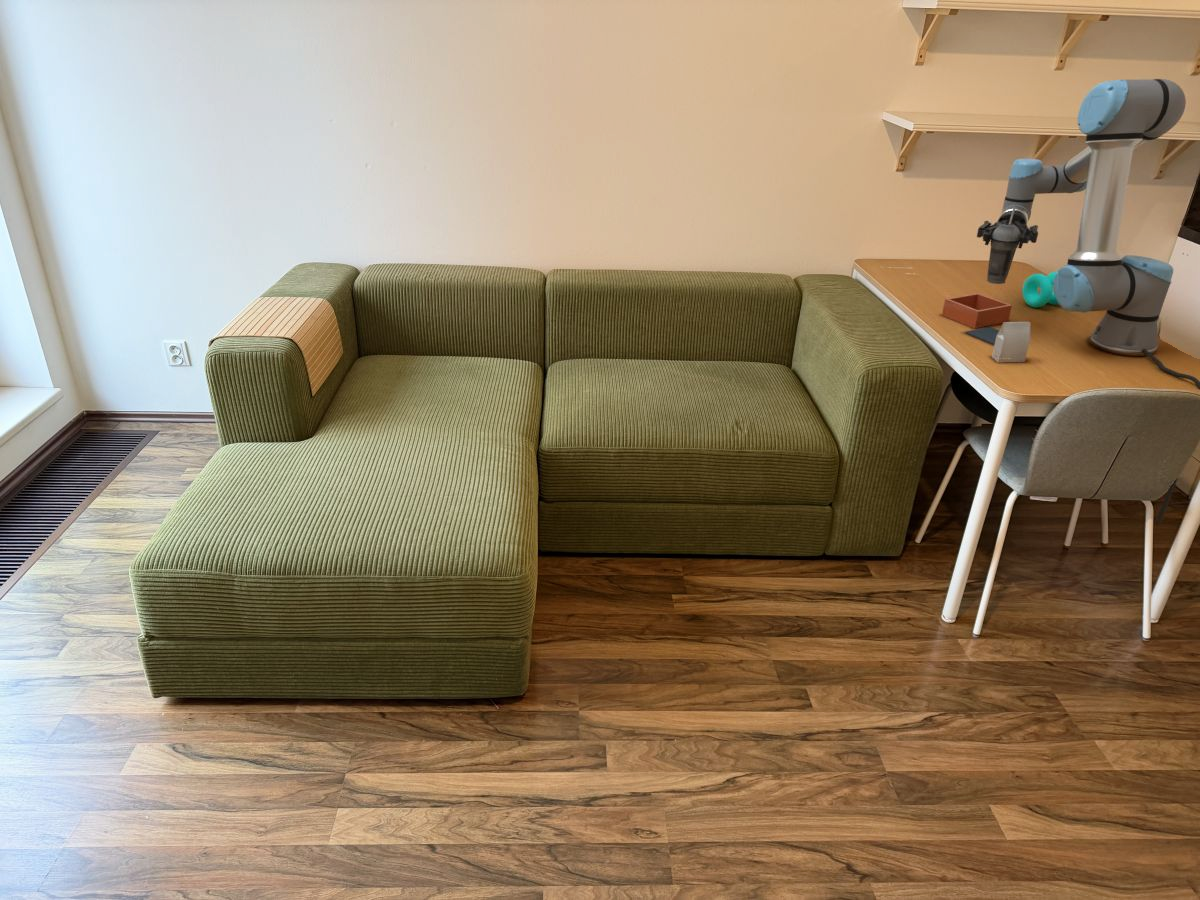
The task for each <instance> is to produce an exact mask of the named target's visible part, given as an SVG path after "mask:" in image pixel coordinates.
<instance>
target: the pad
mask: <svg viewBox="0 0 1200 900" xmlns="http://www.w3.org/2000/svg"><path fill="white" fill-rule="evenodd" d="M999 331H1000V329H996V328H994V327H991V326H986V327H981V328H976V329H971V330H967V331H965V334H966V335H969V336H971V337H973V338H975V339H978V340H980V341H982V342H985V343H988V344H990V345H993V346H994V345H995V341H996V337H997V334H998V332H999Z"/></svg>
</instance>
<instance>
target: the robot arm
mask: <svg viewBox="0 0 1200 900" xmlns="http://www.w3.org/2000/svg"><path fill="white" fill-rule="evenodd" d="M1186 100H1187V99H1186V94H1185V92H1184V90H1183V88H1181V86H1180V85H1179V84H1178V83H1176V82H1175V81H1172V80H1170V79H1167V78H1154V79H1152V78H1151V79H1144V78H1143V79H1140V78H1139V79H1115V80H1106V81H1102V82H1100V83H1098V84H1096V85H1095V86H1094V87H1093V88H1092V89H1090V90H1089V92H1088V93H1087V94H1086V95H1085V97H1084V99H1083V100H1082V102H1081V104H1080V107H1079V110H1078V114H1077V126H1078V129H1079V131H1080V132H1081V133H1082V134H1084V135H1086V136H1085V137H1086V138H1085V144H1086V145H1087V147H1085V148H1084V149H1083V150H1081V151H1080V152H1079V153H1077V154H1076V155H1074V156H1073V157H1072V158H1071V159H1069V160H1068V161H1066V162H1064V163H1063V164H1060V165H1043V161H1042V160H1041V159H1037V158H1017V159H1016V160H1014V162H1013V163H1012V166H1011V169H1010V172H1009V175H1008V177H1009V178H1008V182H1007V188H1006V192H1005V197H1004V200H1003V205H1002V209H1001V214H1000V215H999V218H998V219H997V221H995V222H994V223H992V221H988V220H984V222H983V224H982V225H980V226H979V227H978V229H977V233H976V238H977V239H978V238H979V239H980V238H982V241H983V242H984V245H985V246H989V245H990V243H991V237H992V234H993V232H994V230H995V229H996V228H997V227H998V226H1000V225H1002V224H1005V223H1009V222H1010V218H1011V214H1012V211H1013V207H1015V211H1014V215H1013V218H1012V222H1011V224H1014V225H1015V226H1017V227H1018V229H1019V231H1020V234H1021V237H1020V242H1019V245H1018V247H1017V249H1022V248H1023V245H1024V244H1028V243H1029V242H1031V243H1032V244H1035V243H1037V240H1038V237H1039V231H1038V229H1039V225H1037V224H1033V225H1030V226H1028V223H1029V221H1030V219H1031V215H1032V208H1033V205H1034V201H1035V196H1036V195H1040V194H1041V195H1042V194H1043V195H1044V194H1073V193H1081V192H1083V191H1084V197H1083V204H1082V211H1081V217H1080V224H1079V230H1078V236H1077V243H1076V249H1075V251H1074V252H1072V253H1071V254H1070V255H1069V256H1068V257H1067V263H1066V265H1064V266H1061V267H1060V268H1059V269H1058V270H1057V271H1058V273H1057V274H1056V275H1055V278H1054V285H1053V291H1054V294H1055V297H1056V299H1057V300H1058V303H1059V307H1061V308H1063V309H1064V310H1065V311H1067V312H1075V313H1088V312H1105V311H1106V312H1105V315H1103V317H1102V318H1101V320H1100V321H1099V323H1098V324H1097V325H1096V327H1095V328H1094V330H1093V331H1092V333H1091V335H1090V338H1089V343H1090V344H1091V345H1092V346H1093V347H1095V348H1096V349H1098V350H1101V351H1104V352H1108V353H1110V354H1115V355H1121V356H1127V357H1128V356H1129V357H1145V356H1146V357H1148V359H1150V360H1151V361H1152V362H1154V363H1155V364H1156V365H1157V366H1158V367H1159V369H1160V370H1162V371H1163V372H1165V373H1167V374H1170V375H1172V376H1174V377H1177V378H1182V379H1186V380H1188V381H1189V380H1190V381H1191V382H1193V383H1194V384H1195V385H1196V387H1197V389H1198V390H1200V379H1198V378H1197V377H1195V376H1194V375H1190V374H1186V373H1181V372H1178V371H1175V370H1173V369H1171V368H1168V367H1166V366H1165V365H1164V363H1163V362H1162V361H1161V360H1160V359H1158V357H1156V356H1155V355H1154V354H1156V353H1157V350H1158V347H1159V331H1158V329H1159V328H1158V321H1159V318H1160V314H1161V311H1162V310H1163V306H1164V303H1165V300H1166V298H1167V294H1168V291H1169V289H1170V286H1171V284H1172V278H1173V274H1174V268H1173V266H1172V265H1171V264H1170V263H1167V262H1165V261H1162V260H1160V259H1157V258H1151V257H1146V256H1141V255H1140V256H1139V255H1134V254H1133V255H1132V254H1127V255H1124V256H1123V257H1122V256H1121V255H1120V254H1119V252H1117V251H1118V250H1117V247H1118V242H1119V235H1120V230H1121V224H1122V219H1123V212H1124V207H1125V200H1126V194H1127V187H1128V183H1129V178H1130V177H1129V176H1130V169H1131V164H1132V159H1133V154H1134V153H1133V152H1134V150H1135V149H1137V148H1138V147H1140V146H1141V145H1143V144H1144V143H1146V142H1147V141H1148V142H1151V141H1155V140H1157V139H1159V138H1160V137H1162V136H1163V135H1165V134H1167V133H1168V132H1169V131H1170V130H1172V129H1173V128H1174V127H1175V126H1176V125H1177V124H1178V123H1179V121H1180V120H1181V119H1182V117H1183V115H1184V112H1185V109H1186V103H1187V101H1186ZM1178 479H1179V477H1178V478H1177V479H1176V480H1175V481H1174V483H1173V484H1172V485H1171V486H1170V485H1169V487H1170V488H1168V489H1167V492H1166V494H1165V497H1164V500H1163V502H1162V504H1161V508H1160V510H1159V513H1158V515H1157V518H1156V521H1155V523H1156V524H1159V525H1160V524H1161V523H1162V520H1163V517H1164V514H1165V512H1166V509H1167V507H1168V504H1169V502H1170V500H1171V497H1172V494H1173V491H1174V489H1175V487H1176V485H1177V482H1178Z"/></svg>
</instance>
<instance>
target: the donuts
mask: <svg viewBox="0 0 1200 900" xmlns="http://www.w3.org/2000/svg"><path fill="white" fill-rule="evenodd" d="M1057 273H1058V270H1056V271H1051V272H1049V273H1048V274H1047V275H1046V274H1043V273H1033V274H1031V275H1029V276H1028V277H1027V278H1026V279H1025V280H1024V282H1023V285H1022V289H1021V290H1022V291H1021V293H1022V298H1023V300H1024V302H1025V303H1026V304H1027V305H1028V306H1029V307H1032V308H1041V307H1044V306H1046V304H1049V305H1052V306H1058V305H1059V306H1060V304H1059V303H1058V300H1057V299H1056V297H1055V294H1054V278H1055V275H1056V274H1057ZM1039 288H1040V291H1039Z"/></svg>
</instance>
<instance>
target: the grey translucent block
mask: <svg viewBox="0 0 1200 900" xmlns="http://www.w3.org/2000/svg"><path fill="white" fill-rule="evenodd" d="M1031 325H1032V322H1031V321H1008V322H1003V323H1001V327H1000V329H999V332H998V334H997V337H996V341H995V345H993V350H992V354H991V358H992V359H993V360H994V361H996V362H997V363H1025V362H1026V358H1027V354H1028V350H1029V346H1030V342H1031ZM995 355H996V356H997V357H996V356H995ZM999 358H1001V359H999ZM1003 358H1007V359H1003ZM1008 358H1011V359H1008Z"/></svg>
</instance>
